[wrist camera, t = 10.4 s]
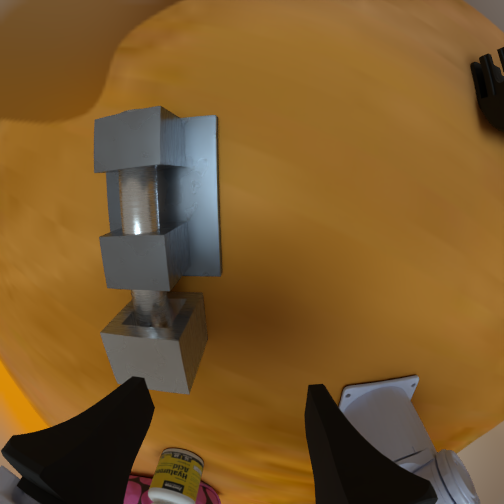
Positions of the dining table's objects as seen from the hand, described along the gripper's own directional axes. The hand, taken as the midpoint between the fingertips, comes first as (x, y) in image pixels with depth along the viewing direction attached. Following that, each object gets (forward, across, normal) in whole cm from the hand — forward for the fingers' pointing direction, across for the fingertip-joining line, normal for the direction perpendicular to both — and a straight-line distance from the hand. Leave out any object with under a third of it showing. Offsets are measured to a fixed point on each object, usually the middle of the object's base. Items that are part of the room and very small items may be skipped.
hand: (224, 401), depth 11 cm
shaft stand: (+9, +5, -5) cm, 12 cm away
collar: (+10, +5, +1) cm, 11 cm away
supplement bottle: (+10, +9, +22) cm, 26 cm away
